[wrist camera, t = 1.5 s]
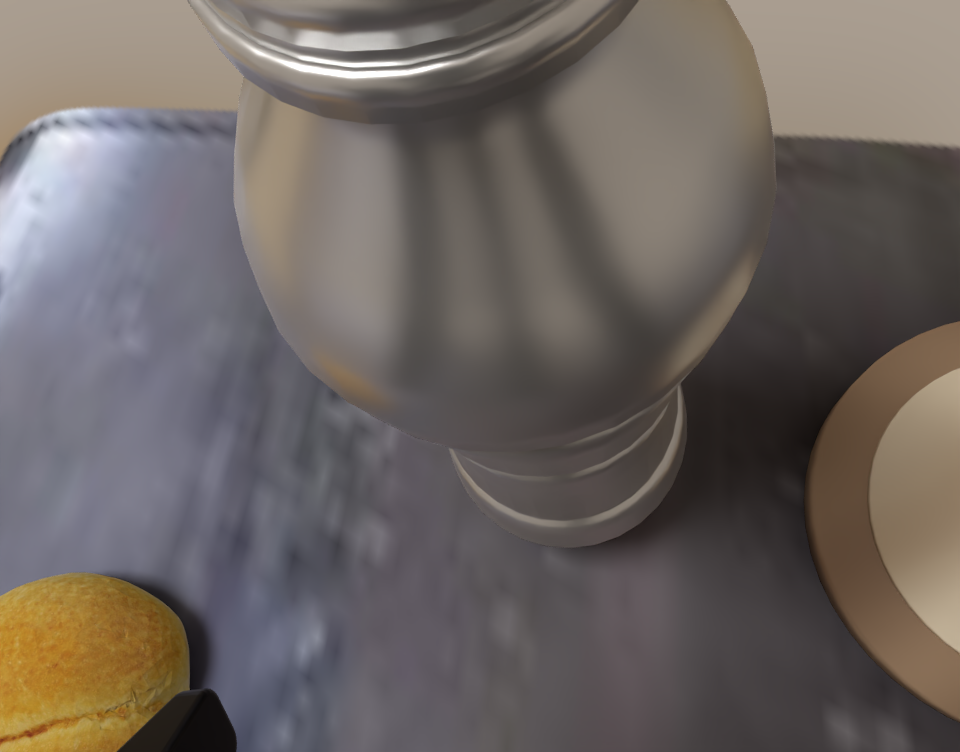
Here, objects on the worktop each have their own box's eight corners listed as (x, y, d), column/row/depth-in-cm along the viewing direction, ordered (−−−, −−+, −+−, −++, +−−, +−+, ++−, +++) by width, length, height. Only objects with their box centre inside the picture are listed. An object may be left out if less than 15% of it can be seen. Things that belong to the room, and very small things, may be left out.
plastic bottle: (668, 332, 23) (875, -867, 5) (691, 555, 21) (1257, 10, 2) (465, 348, 24) (-45, -578, 6) (467, 561, 22) (-354, 215, 3)
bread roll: (192, 548, 24) (113, 534, 20) (226, 863, 21) (141, 915, 17) (-39, 614, 25) (-156, 612, 21) (-39, 928, 22) (-176, 992, 18)
